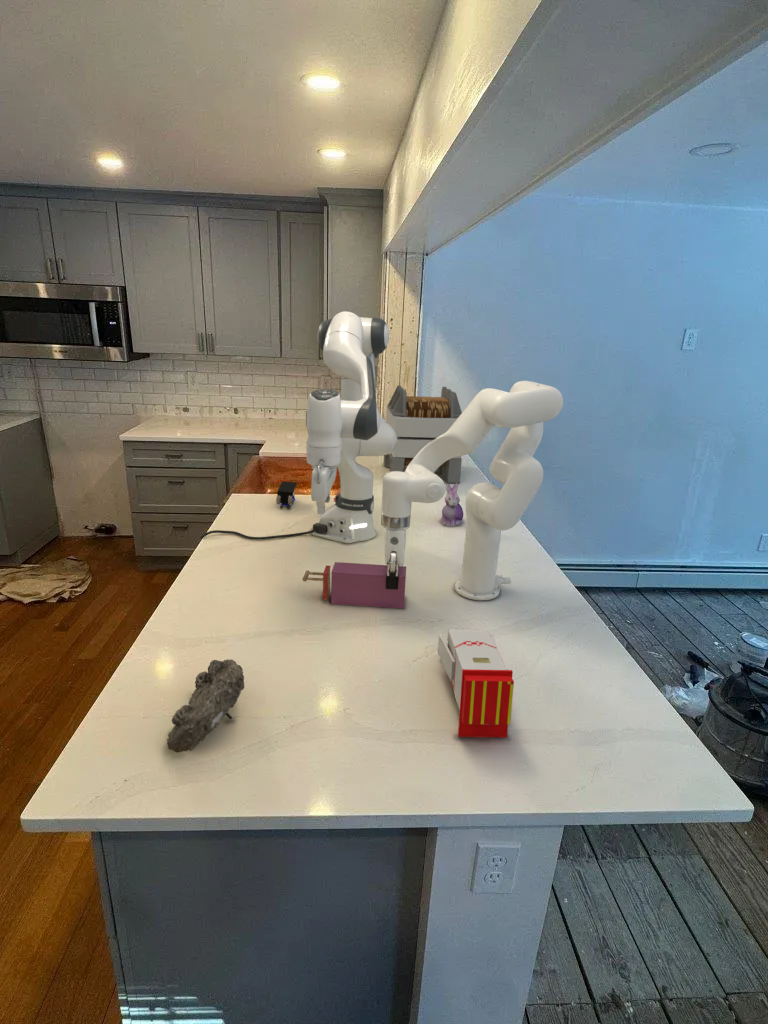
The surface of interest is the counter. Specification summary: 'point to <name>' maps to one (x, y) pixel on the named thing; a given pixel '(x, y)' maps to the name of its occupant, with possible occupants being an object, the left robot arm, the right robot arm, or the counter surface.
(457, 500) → the figurine
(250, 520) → the counter surface
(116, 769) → the counter surface
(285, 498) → the figurine character
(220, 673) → the fossil
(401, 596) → the cabinet
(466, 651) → the toy
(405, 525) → the right robot arm
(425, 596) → the counter surface
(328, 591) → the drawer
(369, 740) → the counter surface
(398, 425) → the transformer
